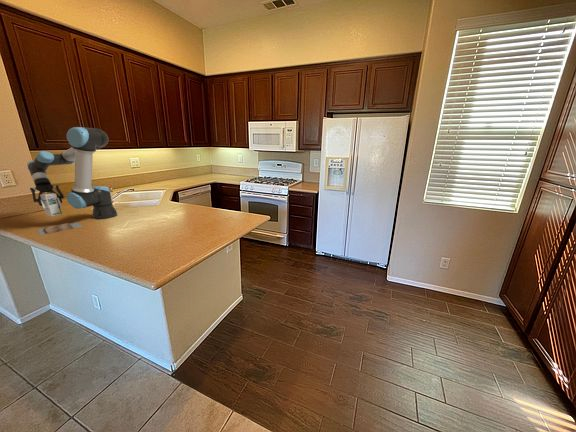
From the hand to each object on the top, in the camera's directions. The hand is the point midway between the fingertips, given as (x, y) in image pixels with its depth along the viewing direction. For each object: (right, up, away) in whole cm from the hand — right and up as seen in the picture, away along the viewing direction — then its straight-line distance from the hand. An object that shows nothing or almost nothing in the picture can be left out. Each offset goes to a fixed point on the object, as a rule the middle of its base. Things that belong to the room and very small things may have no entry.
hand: (53, 207), depth 155 cm
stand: (+6, -14, -2) cm, 15 cm away
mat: (+5, -14, -1) cm, 15 cm away
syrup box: (-3, -5, +4) cm, 7 cm away
